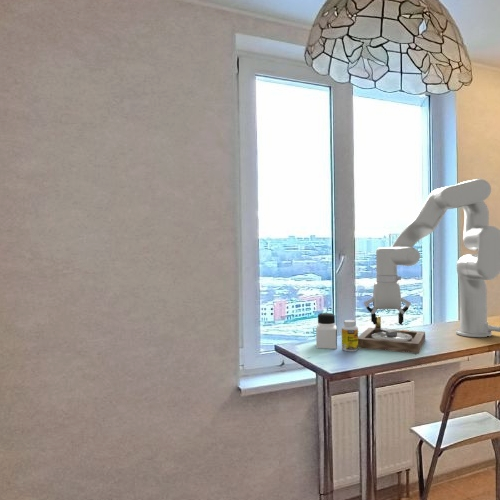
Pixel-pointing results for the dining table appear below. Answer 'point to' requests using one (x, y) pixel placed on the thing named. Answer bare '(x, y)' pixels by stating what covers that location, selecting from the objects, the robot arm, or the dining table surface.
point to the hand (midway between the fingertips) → (387, 323)
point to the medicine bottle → (326, 331)
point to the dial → (389, 333)
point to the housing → (392, 341)
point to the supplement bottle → (349, 336)
